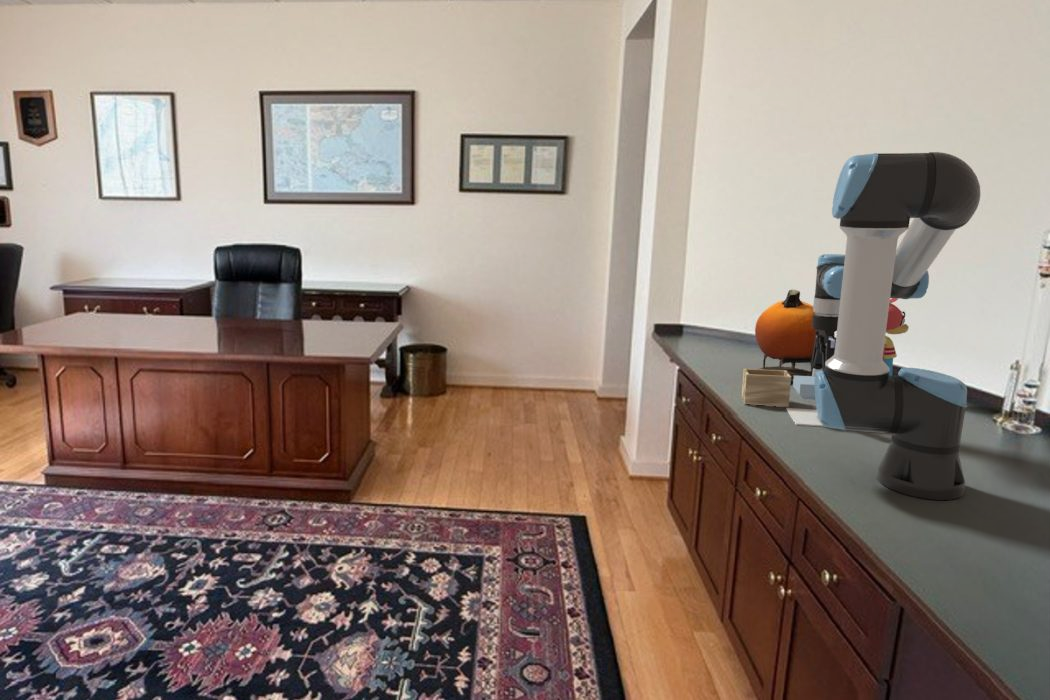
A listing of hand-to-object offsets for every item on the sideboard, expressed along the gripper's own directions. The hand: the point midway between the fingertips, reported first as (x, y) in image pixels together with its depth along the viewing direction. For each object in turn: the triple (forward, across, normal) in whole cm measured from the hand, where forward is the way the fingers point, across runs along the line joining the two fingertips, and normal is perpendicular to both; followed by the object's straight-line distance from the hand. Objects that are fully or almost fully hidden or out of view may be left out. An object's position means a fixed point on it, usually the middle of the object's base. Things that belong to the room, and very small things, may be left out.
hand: (820, 397), depth 170 cm
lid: (-2, 0, 0) cm, 2 cm away
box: (+6, +13, +12) cm, 19 cm away
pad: (+6, 0, 0) cm, 6 cm away
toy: (+6, +28, -24) cm, 37 cm away
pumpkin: (+6, +46, 0) cm, 46 cm away
